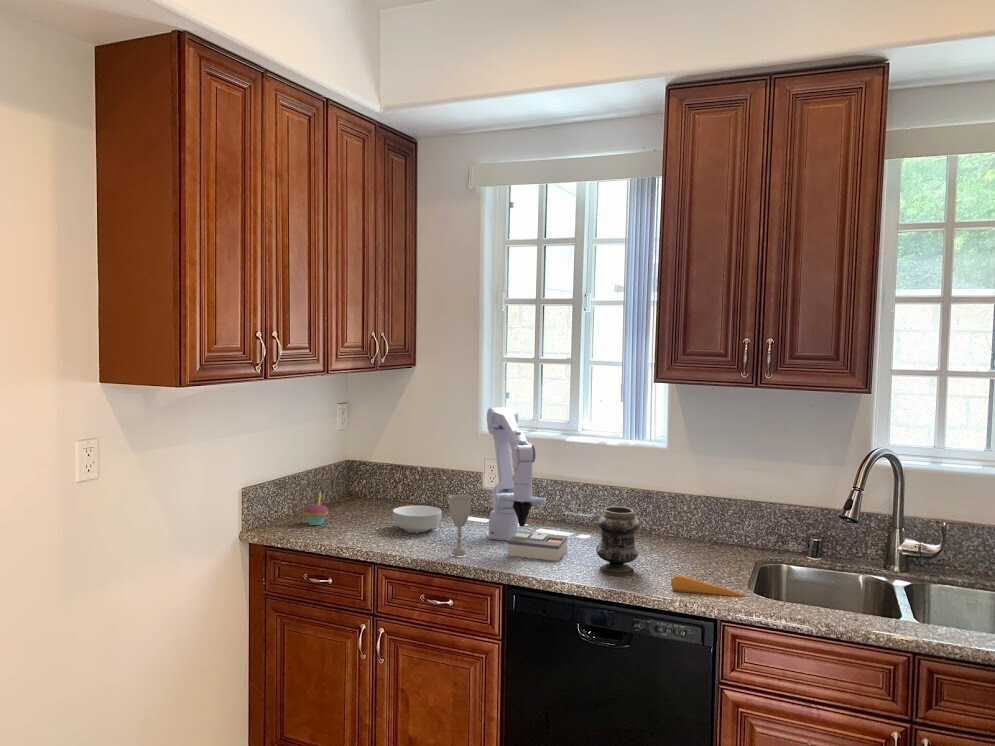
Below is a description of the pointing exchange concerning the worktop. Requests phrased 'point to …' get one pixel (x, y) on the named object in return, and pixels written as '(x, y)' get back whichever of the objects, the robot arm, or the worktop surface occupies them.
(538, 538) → the blue key
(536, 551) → the keypad
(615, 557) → the apothecary jar
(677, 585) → the carrot
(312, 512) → the cupcake
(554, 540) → the terracotta key
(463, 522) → the chalice
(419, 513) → the cereal bowl
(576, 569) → the worktop surface
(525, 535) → the sage key
